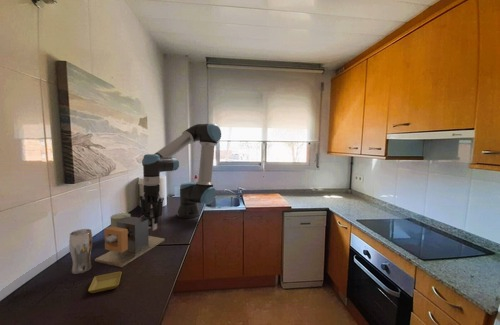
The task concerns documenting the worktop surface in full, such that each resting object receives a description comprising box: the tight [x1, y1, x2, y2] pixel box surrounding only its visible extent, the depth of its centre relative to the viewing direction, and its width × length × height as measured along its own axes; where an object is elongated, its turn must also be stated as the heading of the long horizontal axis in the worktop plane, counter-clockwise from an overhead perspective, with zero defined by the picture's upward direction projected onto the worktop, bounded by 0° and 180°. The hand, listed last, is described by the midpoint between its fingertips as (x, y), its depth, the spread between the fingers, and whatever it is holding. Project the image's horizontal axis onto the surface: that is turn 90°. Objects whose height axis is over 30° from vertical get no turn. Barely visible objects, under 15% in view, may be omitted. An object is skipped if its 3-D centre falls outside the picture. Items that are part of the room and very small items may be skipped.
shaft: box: [104, 213, 154, 244], centre depth 99 cm, size 27×3×5 cm, turn 164°
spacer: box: [104, 225, 128, 253], centre depth 90 cm, size 3×9×9 cm, turn 74°
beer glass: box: [68, 228, 93, 275], centre depth 82 cm, size 7×7×15 cm
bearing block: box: [94, 216, 165, 268], centre depth 99 cm, size 26×14×14 cm, turn 164°
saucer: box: [87, 271, 123, 294], centre depth 74 cm, size 9×9×2 cm
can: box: [109, 212, 132, 242], centre depth 112 cm, size 9×9×12 cm
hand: (151, 228), depth 111 cm, fingers closed on shaft, 3 cm apart
